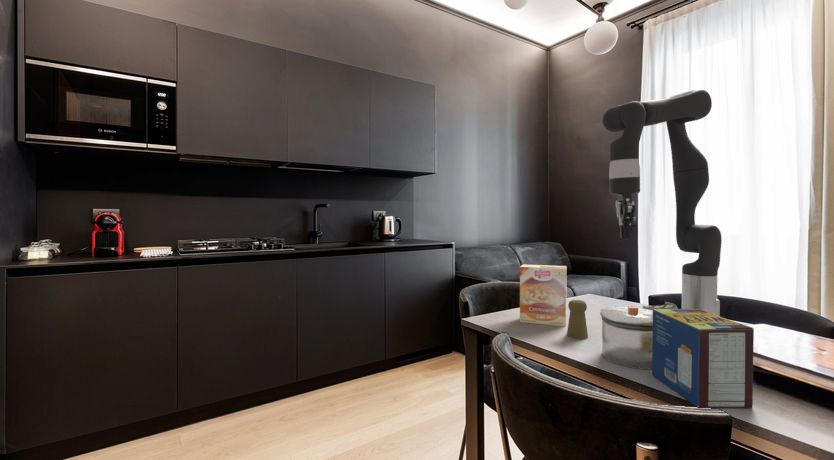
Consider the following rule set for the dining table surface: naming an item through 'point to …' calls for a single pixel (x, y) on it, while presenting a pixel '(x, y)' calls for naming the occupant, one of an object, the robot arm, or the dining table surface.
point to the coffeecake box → (543, 294)
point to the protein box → (703, 357)
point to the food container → (662, 306)
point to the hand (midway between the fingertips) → (625, 238)
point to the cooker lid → (628, 315)
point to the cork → (577, 320)
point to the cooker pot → (627, 344)
